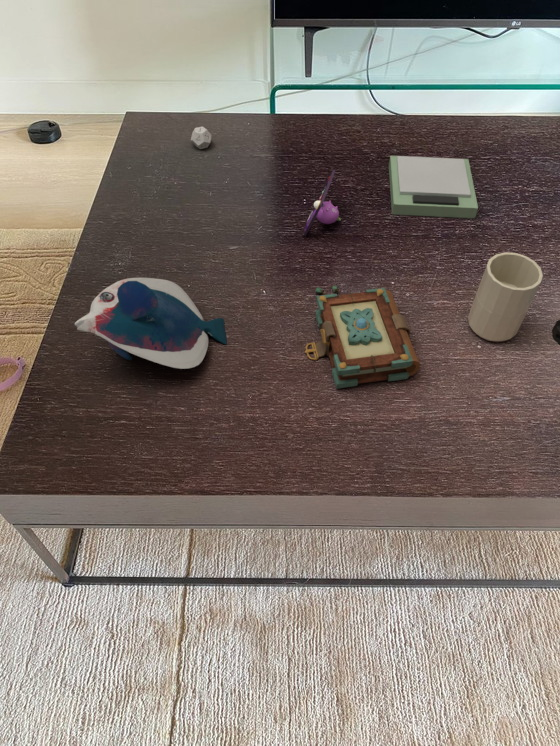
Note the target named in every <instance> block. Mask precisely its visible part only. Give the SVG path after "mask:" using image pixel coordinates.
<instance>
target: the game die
mask: <svg viewBox="0 0 560 746" xmlns="http://www.w3.org/2000/svg"><path fill="white" fill-rule="evenodd" d="M212 137H213V136H212V134H211V132H210V131H209V130H208V129H207V128H205V127H204V126H203V125H202V126H198V127H194V129H193V130H192V132H191V137H190V142H192V144H193V145H194V146H195V147H196V148H198V149H199V150H204V149H208V147H209V146H210V145H211V141H212Z"/></svg>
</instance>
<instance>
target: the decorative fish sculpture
mask: <svg viewBox="0 0 560 746" xmlns="http://www.w3.org/2000/svg"><path fill="white" fill-rule="evenodd" d="M74 326H75V327H76V328H77V329H76V330H77V331H79V332H85V333H93V334H94V335H96V336H98V337H99V338H101V339H104V340H105V341H106V343H107V344H108V346H109V347H110V348H111V349H112V350H113V351H114V352H115V353H116V354H117V355H119V356H120V357H121V358H124V359H125V360H127V361H132V360H133V357H132V356H131V355H130V354H132V355H134V356H137V357H139V358H141V359H145V360H147V361H150V362H153V363H157V364H159V365H162V366H166V367H170V368H173V369H180V370H182V369H184V370H185V369H192V368H195V367H198V366H199V365H200V364H202V362H203V360H204V358H205V356H206V354H207V351H208V347H209V336H210V337H211V338H212V339H214V340H216V341H217V342H219V343H221V344H223V345H225V346H226V345H227V344H228V343H227V342H228V339H227V334H226V327H225V320H224V318H223V317H216V318H213V319H210V320H207V321H206V320H204V317H203V315H202V314H201V312H200V310H199V309H198V307H197V306H196V304H195V303H194V301H193V300H192V299H191V297H190V296H189V295H188V294H187V292H186V291H185V290H184V289H183V288H182V287H181V286H180V285H179V284H176V282H174V281H171V280H167V279H162V278H156V277H155V278H153V277H130V278H124V279H121V280H117V281H116V282H114V283H112V284H111V285H108V286H107V287H106V288H104V289H103V290H101V292H100V293H98V295H97V296H96V297H94V299H93V300H92V302H91V304H90V309H89V312H88V313H87V314H86V315H83V316H82V317H80V318H79V319H78V320H76V321H75V322H74ZM129 353H130V354H129Z"/></svg>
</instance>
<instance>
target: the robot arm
mask: <svg viewBox="0 0 560 746" xmlns="http://www.w3.org/2000/svg"><path fill="white" fill-rule="evenodd" d="M551 336H552V339H553V341H554V342H556V343H557V344H558V346H560V319H558V320H557V321H555V323H554V325H553V327H552V330H551Z"/></svg>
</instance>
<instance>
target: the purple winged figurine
mask: <svg viewBox="0 0 560 746" xmlns="http://www.w3.org/2000/svg"><path fill="white" fill-rule="evenodd" d="M335 173H336V169H334V168H333V169H332V171H331V172H330V175H329V177H328V179H327V181H326V183H325V185H324V187H323V188H322V190H321V192H320V194H319V196H318V198H317V199H316V200H315V201H314V202H313V210H311V212H310V214H309V216H308V219H307V220H306V225H305V227H304V232H303V235H302V236H303V237H306V236H307V234H308V233H309V231H310V229H311V227H312V225H313V224H314V221H315V220H316V219H317V220H318V221H319V222H320V223H321V224H325V225H331V224H334V223H335V222H337V221H338V222H340V221H342V218H340V211H339V209H338V205H336V206H334V204H333V203H332V200H331V199H330V200H329V201H327V200H326V201H325V199H326V197H327V195H328V194H327V193H328V191H329V189H330V186H331V184H332V181H333V179H334V176H335Z"/></svg>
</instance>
